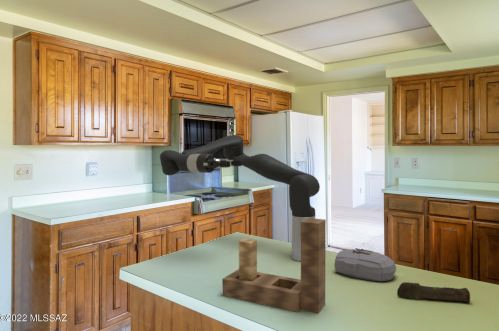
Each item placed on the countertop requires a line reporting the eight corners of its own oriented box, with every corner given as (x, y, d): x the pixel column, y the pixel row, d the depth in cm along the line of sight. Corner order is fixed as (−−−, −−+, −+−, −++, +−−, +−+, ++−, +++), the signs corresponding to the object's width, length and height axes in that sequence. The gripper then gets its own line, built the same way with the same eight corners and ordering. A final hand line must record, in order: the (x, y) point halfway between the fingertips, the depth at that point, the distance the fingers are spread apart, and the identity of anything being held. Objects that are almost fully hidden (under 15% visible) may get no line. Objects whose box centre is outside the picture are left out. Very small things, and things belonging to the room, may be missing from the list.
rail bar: (239, 290, 108) (238, 241, 107) (245, 286, 111) (245, 238, 111) (251, 293, 106) (250, 243, 105) (257, 288, 109) (256, 240, 109)
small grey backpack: (330, 275, 124) (390, 287, 113) (330, 251, 124) (390, 261, 112) (345, 263, 136) (401, 273, 125) (345, 241, 136) (401, 250, 124)
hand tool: (465, 299, 103) (466, 283, 103) (471, 305, 99) (471, 289, 99) (395, 294, 108) (396, 278, 108) (398, 299, 104) (398, 283, 104)
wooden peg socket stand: (222, 295, 107) (221, 215, 106) (239, 283, 116) (238, 210, 115) (316, 316, 93) (316, 225, 92) (327, 301, 102) (327, 218, 101)
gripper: (189, 154, 137) (225, 154, 129) (211, 153, 149) (245, 153, 141) (190, 173, 137) (225, 175, 129) (211, 171, 150) (245, 172, 142)
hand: (235, 163), depth 135 cm, fingers open, 8 cm apart
